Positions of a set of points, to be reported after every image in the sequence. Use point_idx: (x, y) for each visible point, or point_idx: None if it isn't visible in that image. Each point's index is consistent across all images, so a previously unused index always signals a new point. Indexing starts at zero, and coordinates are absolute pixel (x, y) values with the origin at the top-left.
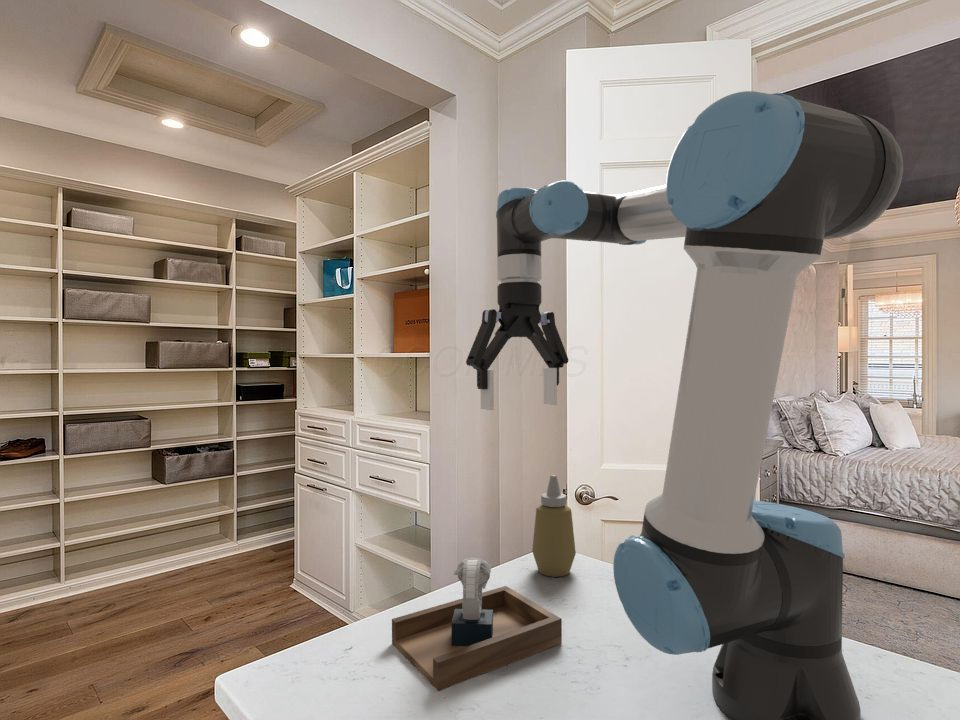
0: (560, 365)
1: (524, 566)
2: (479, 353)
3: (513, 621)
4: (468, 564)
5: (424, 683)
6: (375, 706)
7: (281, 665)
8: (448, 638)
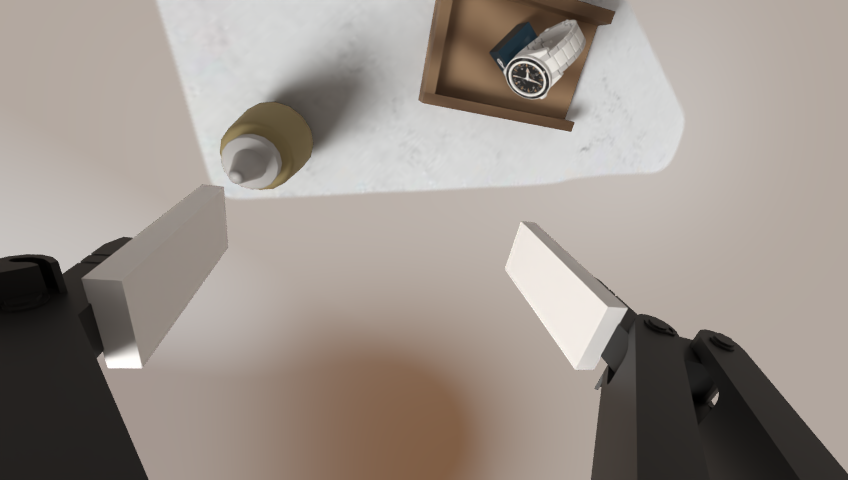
0: (34, 265)
1: (306, 176)
2: (757, 382)
3: (454, 50)
4: (573, 52)
5: None
6: (640, 43)
7: (632, 164)
8: None
